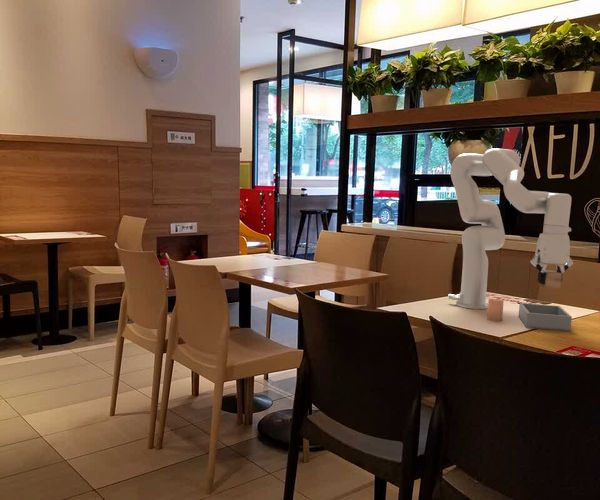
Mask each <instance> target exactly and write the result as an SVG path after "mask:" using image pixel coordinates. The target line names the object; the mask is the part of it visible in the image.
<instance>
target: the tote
mask: <svg viewBox="0 0 600 500" xmlns="http://www.w3.org/2000/svg"><path fill="white" fill-rule="evenodd" d="M518 318H519V319H520V321H521V322H522V324H523V325H524V326H525V328H526V329H537V330H546V331H549V330H550V331H559V332H569V333H570V332H571V327H572V315H570V314H569V312H567V311H566V310H565V309H564V308H563V307H561V306H560V305H549V304H538V303H537V304H536V303H525V302H520V303H519V305H518Z"/></svg>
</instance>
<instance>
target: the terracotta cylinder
mask: <svg viewBox="0 0 600 500" xmlns="http://www.w3.org/2000/svg"><path fill="white" fill-rule="evenodd" d="M504 302H505V301H504V300H503V299H499V298H488V302H487V303H488V309H487V317H486V318H487V320H488V321H492V322H502V321H503V315H504V312H503V311H504Z"/></svg>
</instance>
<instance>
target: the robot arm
mask: <svg viewBox="0 0 600 500" xmlns="http://www.w3.org/2000/svg"><path fill="white" fill-rule="evenodd" d="M520 163H521V158H520V156H519V153H517V152H516V151H515V150H514V149H508V148H497V147H496V148H490V149H487V150H486V151H485V152H484V153H483V154H482V153H469V152H468V153H461V154H459V155H457V156H456V157H455V158H454V160H453V161H452V163H451V165H450V178H451V182H452V184H453V188H454V190H455V194H456V199H457V205H458V208H459V214H460V217H461V220H462V221H463V222H464V223H466V224H479V225H472V226H469V227H467V228H465V230H463V233H462V234H461V244H462V269H461V270H462V272H461V273H462V274H461V286H460V292H459V293H457V294H451V293H449V294H448V300H452V301H456V302H455V305H456V306H458V307H460V308H465V309H470V310H486V309H487V310H488V302H486V301H487V300H486V299H487V298H486V297H487V290H488V289H487V288H488V287H487V286H488V274H489V258H488V254H487V253H486V251H493V250H494V251H495V250H499V249H501V248H502V247H503V246H504V245H505V242H506V232H505V228H504V223H503V219H502V216H501V211H500V209H499V206H498V205H497V203H496V202H494V201H492V200H490V199H482V197H481V195H480V192H479V187H478V185H477V183H476V181H474V179H473V177H472V176H477V177H490V176H491V177H492V176H494V178H495V179H496V180H498V182H499V183H500V184H501V185H503V193H504V196H505V198H506V199H507V201H508V202H509V203H510V204H512V206H513V207H514V209H516V210H517V211H519V212H522V213H524V214H544V220H543V229H542V233H539V236H538V239H537V242H536V247H535V251H534V252H535V253H534V256H533V257H532V259H530V260H529V262H530V263H531V265H533V266H534V267H535V269H536V270H537V271H538V273H537V282H538V284H539V283H540V284H545V277H546V273H545V270H547V266H548V265H555V266H556V272H559V273H562V276H563V275H564V273H565V272H566V271H567V270H568V269H569V268H570V267H571V266H573V265H574V261H573V260H572V258H571V257H570V256H571V254H570V253H571V252H570V251H571V245H570V243H571V242H570V236H569V235H568V234H569V233H570V232H572V228H571V227H570V226H569V224H570V223H569V222H570V216H571V215H570V214H571V206H572V196H571V195H570V194H569V193H559V192H549V191H540V190H529V189H527V188H526V187H525V186H524V185H523V184H522V183H521V182H522V180H523V179H524V177H525V171H524V169H523V168H522V167H521V166H520ZM480 224H481V225H480ZM562 281H563V277H562V278H561V283H562Z"/></svg>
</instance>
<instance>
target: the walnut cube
mask: <svg viewBox="0 0 600 500" xmlns="http://www.w3.org/2000/svg"><path fill="white" fill-rule="evenodd" d="M545 273H546V277H545V284H540V283H538V286H541V287H544V288H546V289H550V288H551V289H561V284H562V282H561V278H562V279H563V275H562V273H559V272H557V270H548V269H545Z"/></svg>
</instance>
